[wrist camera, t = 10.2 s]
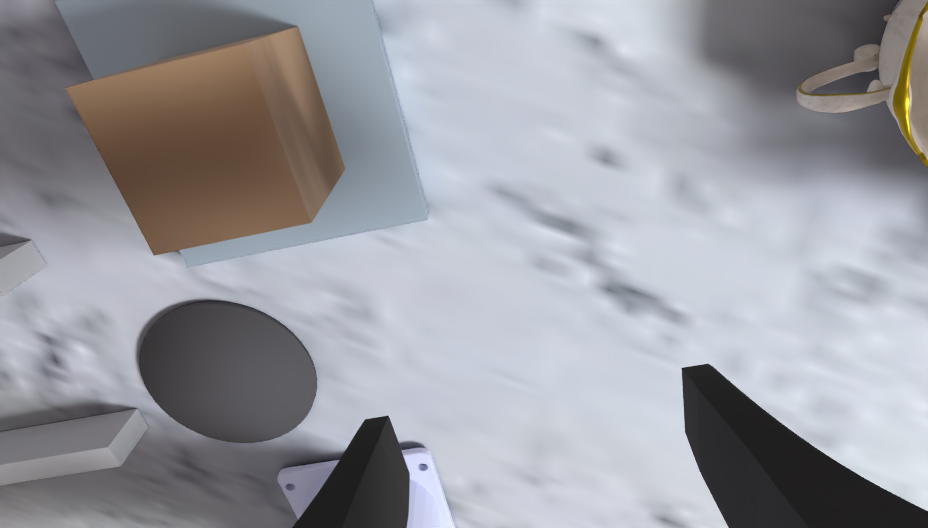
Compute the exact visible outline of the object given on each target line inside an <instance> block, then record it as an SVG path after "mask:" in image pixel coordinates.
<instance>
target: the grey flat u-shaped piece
mask: <svg viewBox="0 0 928 528" xmlns="http://www.w3.org/2000/svg"><path fill="white" fill-rule="evenodd" d="M46 266H47V264H46V262H45V261H44V259H43V258H42V256H41V254H40V253H39V251H38V250H37V248H36V247H35V245H34V243H33V242H32V240H30V241H26V242H21V243H16V244H11V245H7V246H2V247H0V297H1V296H4V295H6V294H7V293H9V292H10V291H12V290H13V289H14V288H16V287H17V286H19V285H20V284H22V283H23V282H25V281H26V280H27V279H29V278H30V277H32V276H33V275H35V274H36V273H37V272H39V271H40V270H42V269H43V268H45V267H46ZM148 427H149V426H148V425H147V423H146V422H145V420H144V419H143V417H142V415H141V414H140V412H139V411H138V409H132V410H126V411H120V412H114V413H108V414H103V415H97V416H91V417H85V418H79V419H73V420H68V421H62V422H56V423H50V424H44V425H38V426H33V427H27V428H21V429H15V430H9V431H3V432H0V485H7V484H13V483H19V482H26V481H32V480H38V479H44V478H51V477H57V476H63V475H69V474H76V473H82V472H88V471H94V470H101V469H107V468H113V467H120V466H121V465H122V464H123V463H124V461H125V460H126V458H127V457H128V456H129V454H130V453H131V451H132V450H133V448H134V447H135V446H136V444H137V443H138V441H139V440H140V439H141V437H142V436H143V434H144V433H145V431H146V430H147V429H148Z"/></svg>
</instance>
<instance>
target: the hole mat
mask: <svg viewBox="0 0 928 528" xmlns="http://www.w3.org/2000/svg"><path fill="white" fill-rule="evenodd" d="M140 370H141V375H142V378H143V381H144V384H145V386H146V387H147V389H148V391H149V393H150V395H151V396H152V397H153V399H154V400H155V402H156V403H157V404H158V405H159V406H160V407H161V408H162V409H163V410H164V411H165V412H166V413H167V414H168V415H169V416H170V417H172V418H173V419H174V420H176V421H177V422H179V423H180V424H182V425H183V426H185V427H187V428H189V429H191V430H193V431H195V432H197V433H199V434H202V435H204V436H207V437H210V438H214V439H217V440H222V441H227V442H236V443H254V442H262V441H267V440H271V439H274V438H277V437H280V436H282V435H284V434H286V433H288V432H290V431H291V430H293V429H294V428H296V427H297V426H298V425H299V424H300V423H301V422H302V421H303V420H304V418H305V417H306V416H307V415H308V413H309V411H310V409H311V407H312V405H313V402H314V399H315V396H316V390H317V376H316V370H315V367H314V364H313V361H312V359H311V357H310V355H309V353H308V351H307V350H306V348H305V347H304V345H303V344H302V343H301V341H300V340H299V339H298V338H297V337H296V336H295V335H294V334H293V333H292V332H291V331H290V330H289V329H288V328H287V327H285V326H284V325H283V324H281V323H280V322H278V321H277V320H275V319H274V318H272V317H270V316H268V315H267V314H265V313H262V312H260V311H258V310H255V309H253V308H250V307H247V306H243V305H239V304H235V303H230V302H220V301H205V302H197V303H192V304H188V305H184V306H182V307H179V308H177V309H174V310H172V311H171V312H169V313H167V314H166V315H164V316H163V317H162V318H161V319H160V320H158V321H157V322H156V323H155V325H154V326H153V327H152V328H151V329H150V330H149V332H148V333H147V335H146V337H145V339H144V341H143V343H142V346H141V351H140Z"/></svg>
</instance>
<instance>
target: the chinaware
mask: <svg viewBox="0 0 928 528" xmlns="http://www.w3.org/2000/svg"><path fill="white" fill-rule="evenodd" d="M884 20H885V21H886V22H888V23H887V26H886V28H885V31H884V35H883V38H882V41H881V47H880V46H878V45H877V44H867V45H863V46H860V47H858V48H857V49H856V50H855V52H854V55H855V56H854V57H853V59H854V62H851V63H848V64H844V65H841V66H838V67H835V68H832V69H829V70H827V71H824V72H821V73H819V74H816V75H814V76H812V77H810V78H808V79H806V80H805V81H803V82H802V83H801V84H800V85H799V86H798V88H797V91H796V95H797V101H798V103H799V104H800V105H802V106H803V107H805V108H807V109H810V110H813V111H819V112H830V113H841V112H849V111H853V110H857V109H861V108H864V107H867V106H871V105H874V104H879V103H880V102H883V101H886V103H887V105H888V107H889V109H890V111H891V113H892V115H893V116H894V118H895V119H896V121H897V123H898V126H899V129H900V131H901V133H902V135H903V137H904V138H905V140H906V141H907V143H908V144H909V145H910V147H911V148H912V149H913V151H914V152H915V154H916V155H920V158H921V161H922V162H923V163H924V164H925V165H926V166H927V167H928V0H899V2H898V3H897V5H896V7H895V8H894V10H893V11H892V14H889V15H886V16H884ZM878 67H879V78H880V81H879V80H873V81H872V82H871V83H870V85H869V88H868V90H867V93H848V94H812V93H810V92H811V91H813V90H815V89H817V88H819V87H821V86H823V85H826V84H828V83H831V82H833V81H835V80H838V79H841V78H844V77H847V76H850V75H853V74H856V73H860V72H863V71H864V72H869V71H873V70H876V69H877V68H878Z"/></svg>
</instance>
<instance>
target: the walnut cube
mask: <svg viewBox="0 0 928 528" xmlns="http://www.w3.org/2000/svg"><path fill="white" fill-rule="evenodd" d="M66 90H67V92H68V94H69V96H70V98H71V100H72V101H73V103H74V105H75V107H76V109H77V111H78V113H79V115H80V117H81V118H82V120H83V122H84V124H85V126H86V128H87V130H88V132H89V134H90V135H91V137H92V139H93V141H94V143H95V145H96V147H97V149H98V151H99V152H100V154H101V156H102V158H103V160H104V162H105V164H106V166H107V168H108V169H109V171H110V173H111V175H112V177H113V179H114V181H115V183H116V185H117V186H118V188H119V190H120V192H121V194H122V196H123V198H124V200H125V202H126V203H127V205H128V207H129V209H130V211H131V213H132V215H133V217H134V218H135V220H136V222H137V224H138V226H139V228H140V230H141V232H142V234H143V235H144V237H145V239H146V241H147V243H148V245H149V247H150V249H151V251H152V252H153V254H154V255H159V254H163V253H168V252H173V251H178V250H183V249H188V248H192V247H197V246H202V245H207V244H212V243H217V242H222V241H226V240H231V239H236V238H241V237H246V236H251V235H255V234H260V233H265V232H270V231H275V230H280V229H285V228H289V227H294V226H299V225H304V224H309V223H312V221H313V220H314V218H315V217H316V215H317V213H318V212H319V210H320V209H321V207H322V205H323V204H324V202H325V201H326V199H327V198H328V196H329V194H330V193H331V191H332V190H333V188H334V186H335V185H336V183H337V182H338V180H339V179H340V177H341V175H342V174H343V172H344V171H345V166H344V163H343V160H342V157H341V154H340V151H339V148H338V145H337V142H336V139H335V136H334V133H333V130H332V127H331V124H330V121H329V118H328V115H327V112H326V109H325V106H324V103H323V100H322V97H321V94H320V91H319V88H318V85H317V82H316V78H315V75H314V72H313V69H312V66H311V63H310V60H309V57H308V54H307V51H306V48H305V45H304V42H303V39H302V36H301V33H300V30H299V27H298V26H297V27H293V28H289V29H285V30H281V31H277V32H273V33H269V34H265V35H261V36H257V37H253V38H249V39H245V40H241V41H237V42H233V43H229V44H224V45H220V46H216V47H212V48H208V49H204V50H200V51H196V52H192V53H188V54H184V55H180V56H176V57H172V58H168V59H164V60H160V61H156V62H153V63H149V64H146V65H143V66H139V67H136V68H132V69H129V70H125V71H122V72H119V73H115V74H112V75H108V76H105V77H101V78H98V79H94V80H91V81H88V82H84V83H81V84H77V85H74V86H70V87H67V88H66Z"/></svg>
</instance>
